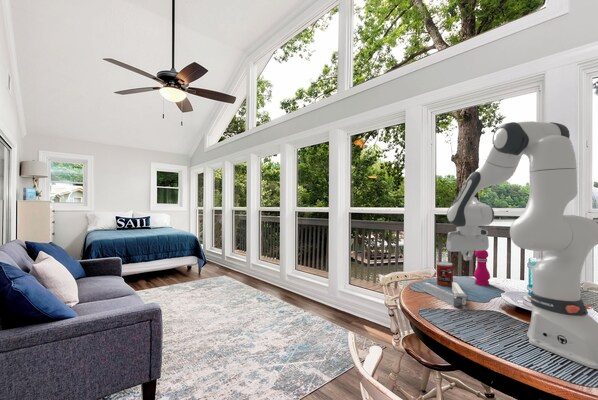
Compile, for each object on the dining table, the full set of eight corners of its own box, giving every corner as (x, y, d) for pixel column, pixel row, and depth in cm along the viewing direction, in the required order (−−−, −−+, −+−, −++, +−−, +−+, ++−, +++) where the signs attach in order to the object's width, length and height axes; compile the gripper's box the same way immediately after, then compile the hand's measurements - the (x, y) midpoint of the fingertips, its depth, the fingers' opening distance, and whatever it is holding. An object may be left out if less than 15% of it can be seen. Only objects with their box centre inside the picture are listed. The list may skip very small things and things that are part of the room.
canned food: (435, 284, 149) (435, 263, 150) (438, 281, 156) (437, 261, 156) (452, 287, 145) (451, 265, 145) (454, 283, 152) (453, 262, 152)
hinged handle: (467, 308, 115) (467, 296, 115) (456, 307, 117) (456, 295, 117) (456, 291, 138) (456, 281, 138) (447, 290, 139) (447, 280, 139)
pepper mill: (477, 285, 147) (477, 247, 147) (471, 282, 154) (471, 245, 154) (493, 286, 146) (492, 247, 146) (486, 282, 153) (485, 245, 153)
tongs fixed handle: (464, 307, 117) (464, 298, 117) (457, 308, 116) (457, 298, 116) (428, 290, 140) (428, 282, 140) (422, 290, 139) (422, 282, 139)
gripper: (452, 232, 129) (452, 262, 129) (491, 231, 133) (491, 260, 133) (443, 230, 135) (443, 259, 135) (480, 229, 139) (480, 257, 139)
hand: (467, 260), depth 134 cm, fingers closed
